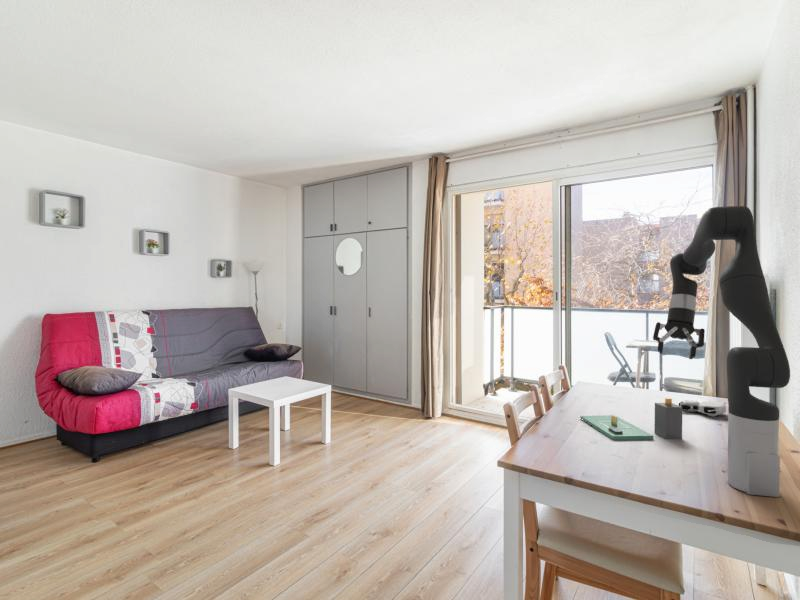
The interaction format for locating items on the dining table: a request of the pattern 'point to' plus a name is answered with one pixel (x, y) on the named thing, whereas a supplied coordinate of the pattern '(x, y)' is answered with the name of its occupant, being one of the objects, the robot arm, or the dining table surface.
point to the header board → (617, 428)
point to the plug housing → (668, 420)
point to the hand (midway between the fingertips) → (675, 356)
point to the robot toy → (704, 407)
